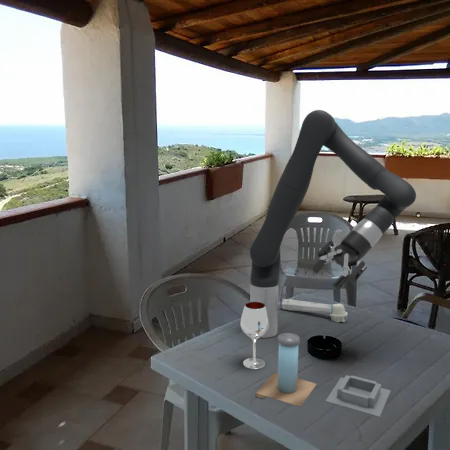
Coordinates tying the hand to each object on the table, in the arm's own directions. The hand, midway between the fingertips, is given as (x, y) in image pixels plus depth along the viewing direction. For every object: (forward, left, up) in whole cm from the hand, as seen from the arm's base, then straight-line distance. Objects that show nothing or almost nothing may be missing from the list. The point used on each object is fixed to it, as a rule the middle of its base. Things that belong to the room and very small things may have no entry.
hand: (324, 279), depth 133 cm
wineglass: (-16, -12, -25) cm, 32 cm away
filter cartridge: (-2, -20, -24) cm, 32 cm away
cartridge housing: (+15, -15, -25) cm, 33 cm away
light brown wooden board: (-2, -21, -25) cm, 32 cm away
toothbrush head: (-14, +33, -26) cm, 44 cm away
